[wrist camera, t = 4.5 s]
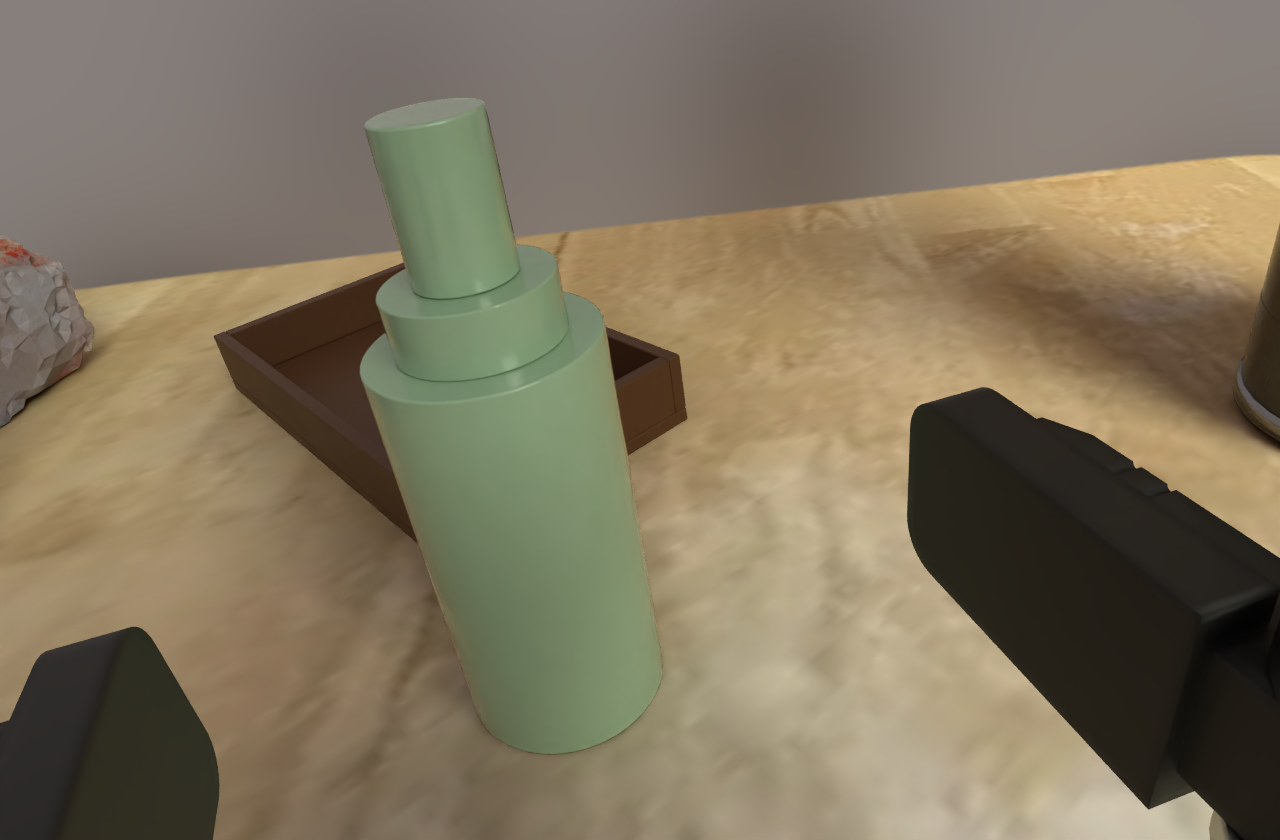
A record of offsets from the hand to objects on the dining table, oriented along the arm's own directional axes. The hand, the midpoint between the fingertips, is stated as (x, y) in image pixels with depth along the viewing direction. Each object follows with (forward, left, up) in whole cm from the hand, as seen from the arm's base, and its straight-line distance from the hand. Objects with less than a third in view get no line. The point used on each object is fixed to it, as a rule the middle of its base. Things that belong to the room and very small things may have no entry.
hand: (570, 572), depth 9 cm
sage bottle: (-5, -10, -13) cm, 17 cm away
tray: (-11, -28, -13) cm, 33 cm away
